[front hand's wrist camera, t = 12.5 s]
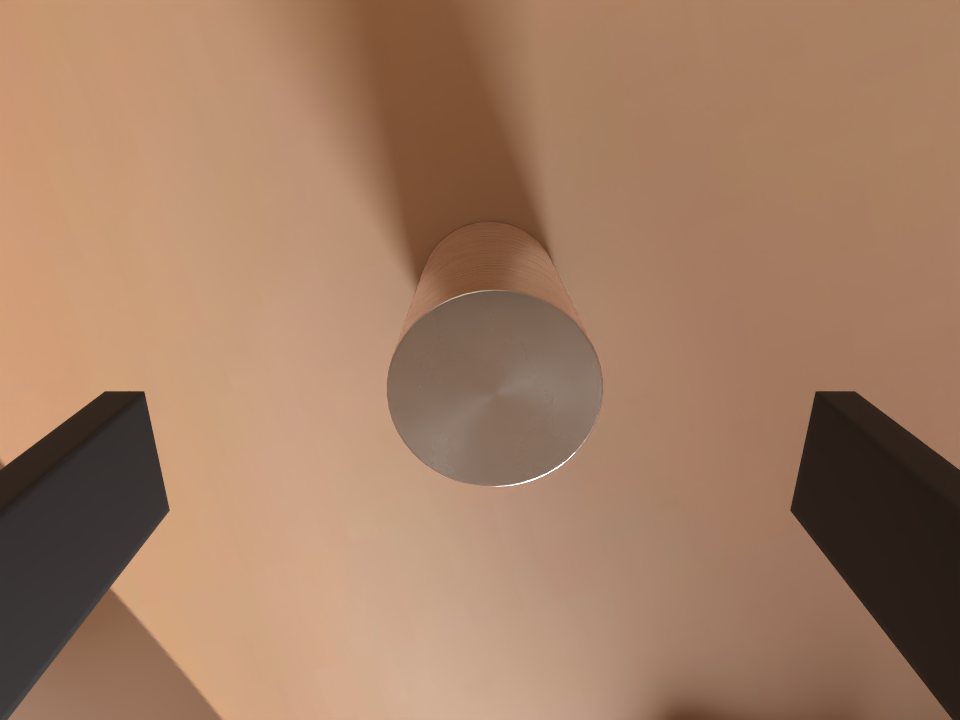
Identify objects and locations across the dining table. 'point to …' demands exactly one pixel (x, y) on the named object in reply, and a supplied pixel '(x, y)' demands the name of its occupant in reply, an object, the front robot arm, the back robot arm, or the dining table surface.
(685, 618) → the dining table surface
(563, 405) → the canister
